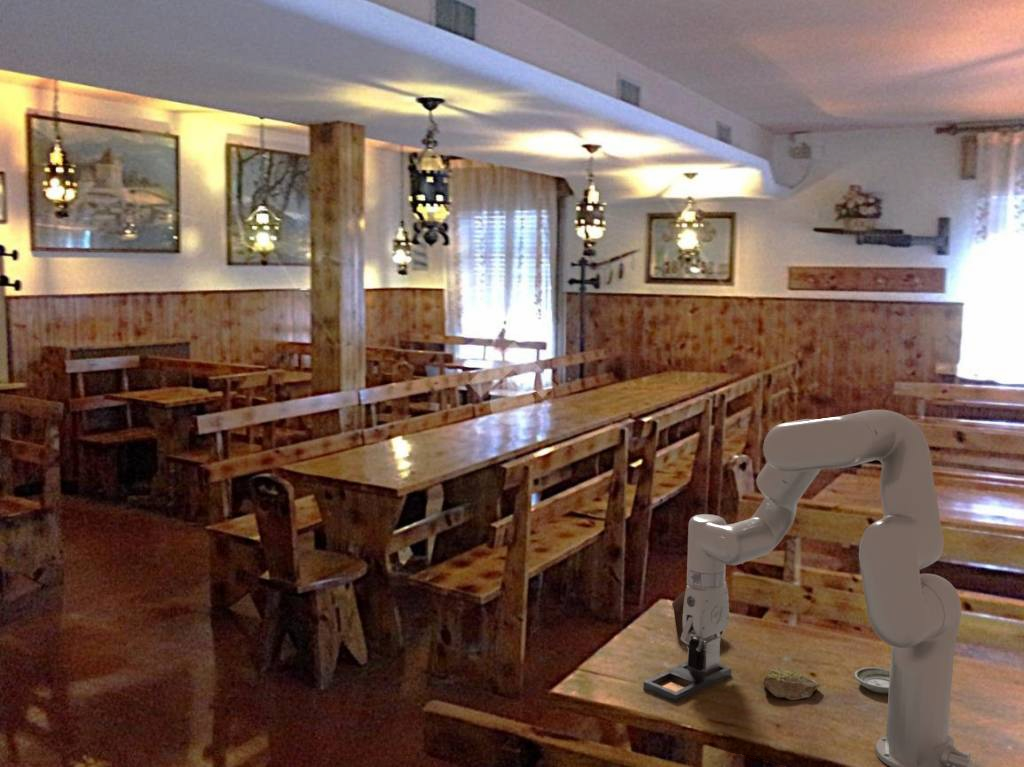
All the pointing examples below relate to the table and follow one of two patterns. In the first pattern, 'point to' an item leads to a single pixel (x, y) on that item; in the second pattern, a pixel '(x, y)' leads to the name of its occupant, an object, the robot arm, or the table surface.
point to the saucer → (874, 679)
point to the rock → (789, 684)
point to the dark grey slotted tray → (683, 682)
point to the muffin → (679, 612)
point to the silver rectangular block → (709, 656)
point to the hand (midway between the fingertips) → (703, 663)
